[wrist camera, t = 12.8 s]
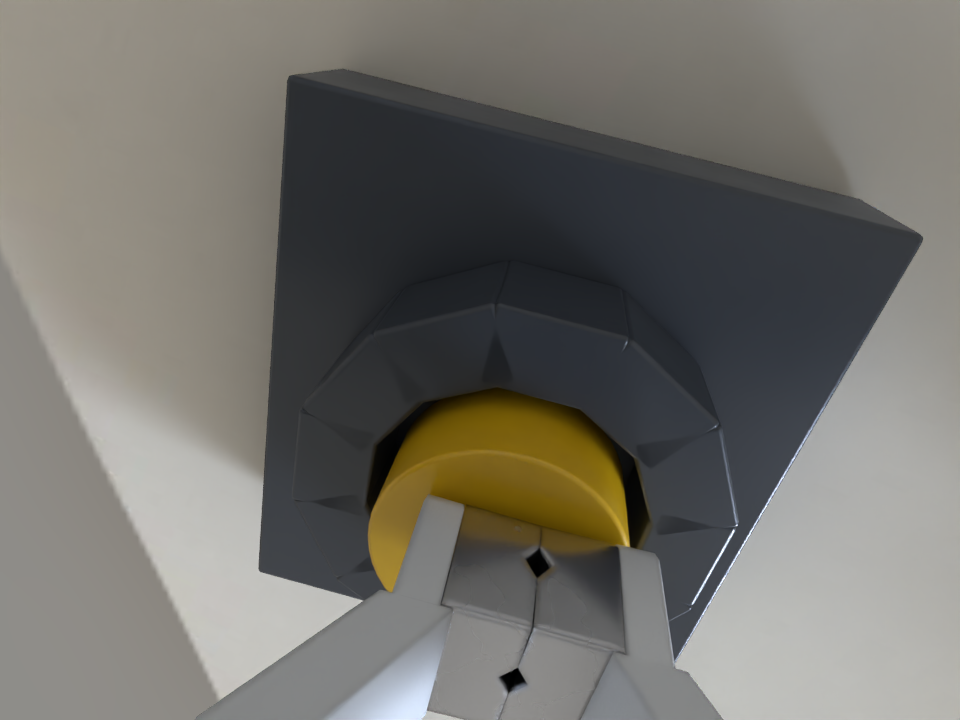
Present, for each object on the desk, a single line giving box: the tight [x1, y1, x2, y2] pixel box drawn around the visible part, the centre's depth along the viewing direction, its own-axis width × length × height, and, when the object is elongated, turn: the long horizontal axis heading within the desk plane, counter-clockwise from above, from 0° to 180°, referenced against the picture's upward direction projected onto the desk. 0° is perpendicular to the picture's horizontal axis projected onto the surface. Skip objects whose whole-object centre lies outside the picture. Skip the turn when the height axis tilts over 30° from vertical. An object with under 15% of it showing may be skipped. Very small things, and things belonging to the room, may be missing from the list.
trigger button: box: [368, 387, 630, 592], centre depth 9 cm, size 4×4×2 cm
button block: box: [259, 69, 923, 663], centre depth 11 cm, size 10×9×4 cm
